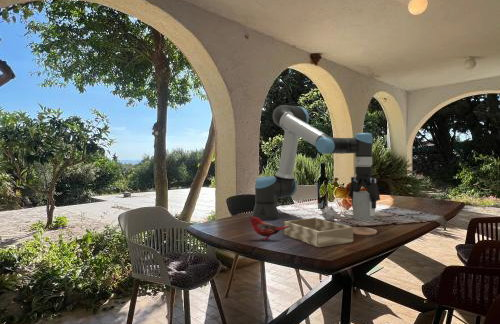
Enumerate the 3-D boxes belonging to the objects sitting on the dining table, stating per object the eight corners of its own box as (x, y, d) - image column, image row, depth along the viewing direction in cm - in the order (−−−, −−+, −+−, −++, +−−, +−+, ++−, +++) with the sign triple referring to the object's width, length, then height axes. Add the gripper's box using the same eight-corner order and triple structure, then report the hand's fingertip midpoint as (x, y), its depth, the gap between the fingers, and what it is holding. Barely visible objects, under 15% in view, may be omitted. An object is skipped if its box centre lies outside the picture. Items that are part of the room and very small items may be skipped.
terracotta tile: (344, 230, 162) (344, 228, 162) (362, 228, 168) (362, 226, 168) (363, 236, 152) (363, 234, 152) (382, 233, 158) (382, 231, 158)
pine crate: (283, 234, 156) (283, 221, 155) (315, 230, 164) (315, 217, 164) (319, 247, 134) (319, 232, 134) (353, 241, 143) (353, 227, 143)
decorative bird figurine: (249, 238, 148) (249, 215, 148) (290, 239, 146) (290, 216, 146) (248, 240, 145) (248, 217, 145) (290, 241, 143) (290, 217, 143)
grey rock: (332, 228, 185) (338, 215, 179) (317, 222, 187) (323, 209, 181) (334, 217, 192) (340, 205, 186) (320, 211, 194) (326, 199, 188)
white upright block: (359, 215, 167) (359, 190, 166) (377, 218, 160) (378, 192, 159) (349, 218, 160) (349, 192, 160) (368, 221, 153) (368, 193, 153)
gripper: (340, 165, 167) (340, 211, 168) (377, 167, 148) (377, 218, 148) (352, 165, 171) (351, 209, 171) (389, 166, 151) (388, 216, 152)
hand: (363, 213), depth 160 cm, fingers closed on white upright block, 9 cm apart
